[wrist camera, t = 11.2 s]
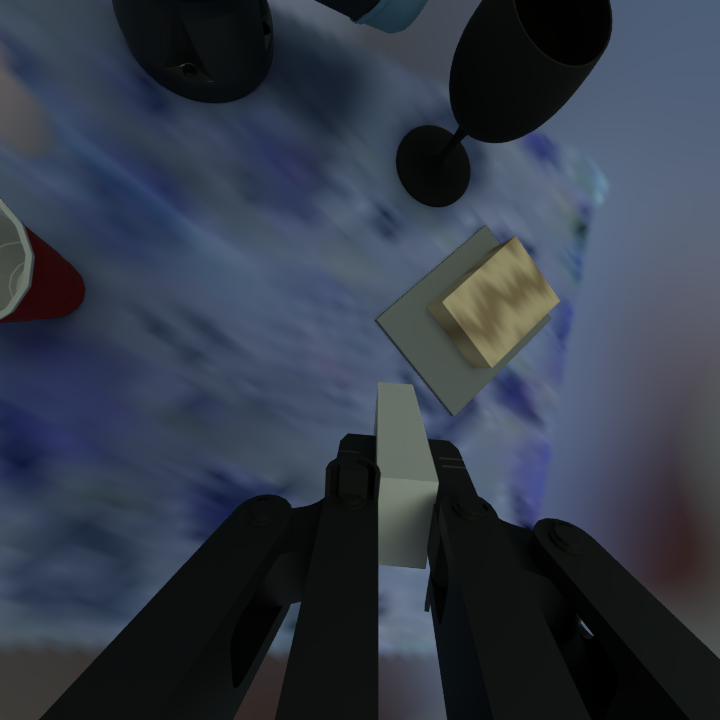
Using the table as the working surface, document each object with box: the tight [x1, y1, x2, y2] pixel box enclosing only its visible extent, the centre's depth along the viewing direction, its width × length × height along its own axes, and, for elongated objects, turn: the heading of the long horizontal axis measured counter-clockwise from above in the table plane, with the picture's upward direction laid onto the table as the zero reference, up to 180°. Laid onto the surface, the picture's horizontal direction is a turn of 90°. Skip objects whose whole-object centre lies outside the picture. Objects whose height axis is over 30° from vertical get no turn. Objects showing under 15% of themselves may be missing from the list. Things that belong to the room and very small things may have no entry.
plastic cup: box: [0, 198, 85, 323], centre depth 27 cm, size 11×11×12 cm
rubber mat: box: [375, 225, 551, 416], centre depth 43 cm, size 16×20×1 cm
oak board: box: [427, 236, 560, 368], centre depth 42 cm, size 10×4×13 cm
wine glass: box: [396, 0, 612, 207], centre depth 33 cm, size 10×10×20 cm
